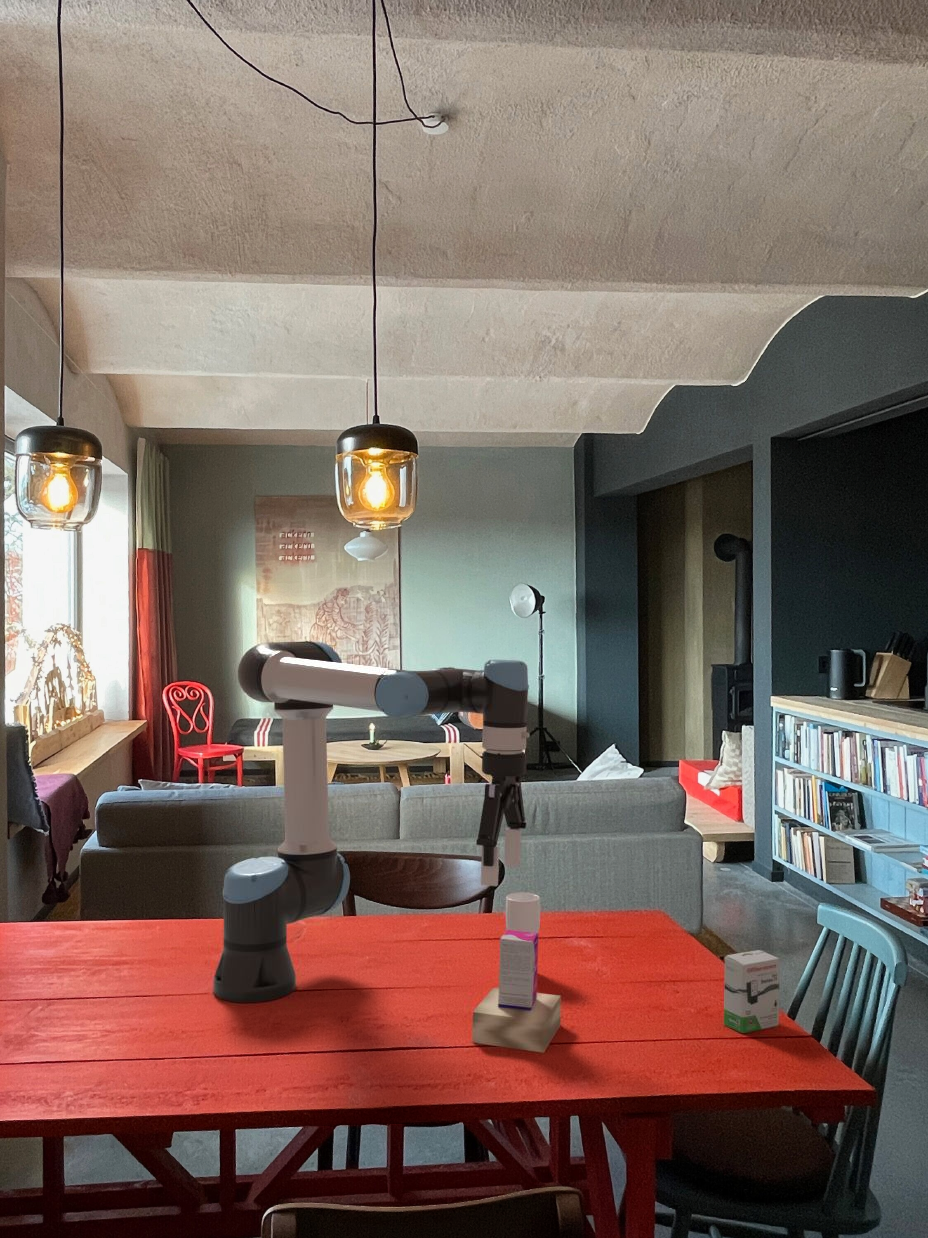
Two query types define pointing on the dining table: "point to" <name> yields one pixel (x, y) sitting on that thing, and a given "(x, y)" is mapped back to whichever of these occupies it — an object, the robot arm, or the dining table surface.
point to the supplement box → (518, 970)
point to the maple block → (517, 1023)
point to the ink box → (751, 991)
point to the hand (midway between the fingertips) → (501, 875)
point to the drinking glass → (523, 912)
